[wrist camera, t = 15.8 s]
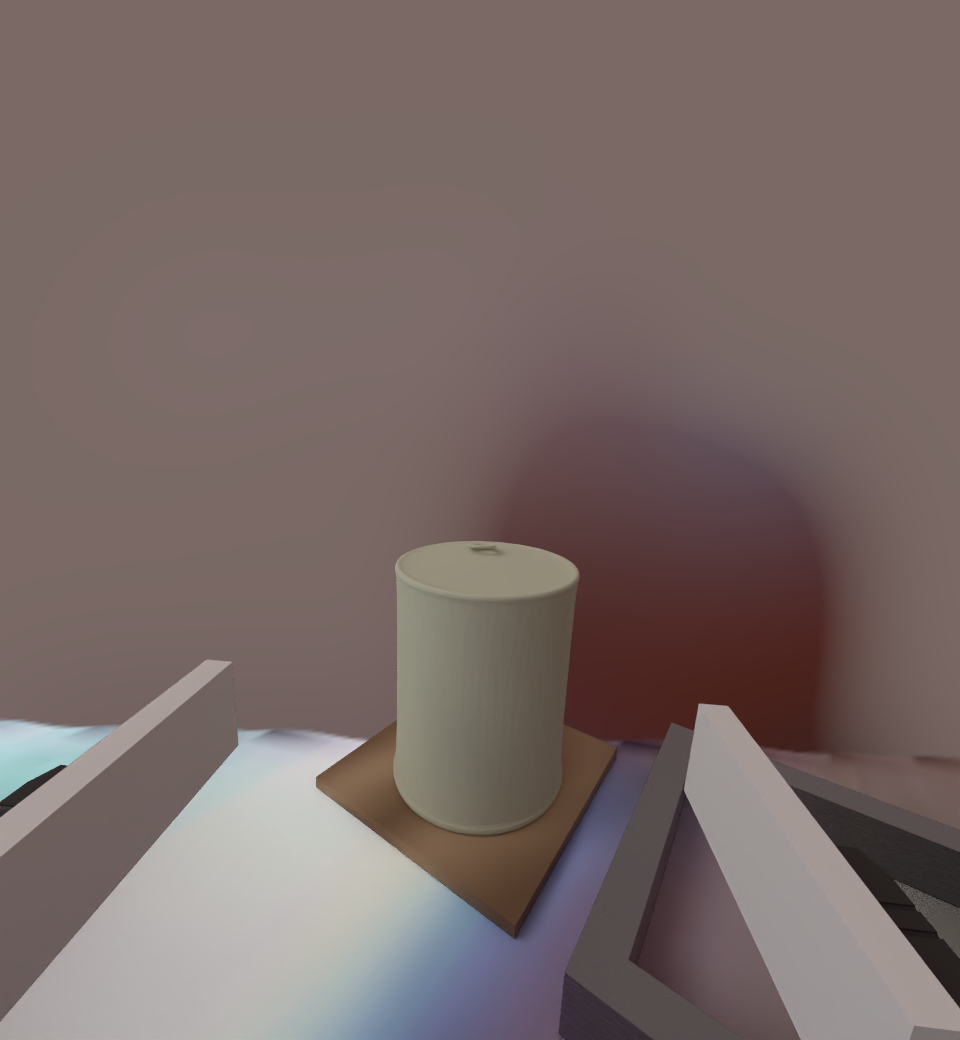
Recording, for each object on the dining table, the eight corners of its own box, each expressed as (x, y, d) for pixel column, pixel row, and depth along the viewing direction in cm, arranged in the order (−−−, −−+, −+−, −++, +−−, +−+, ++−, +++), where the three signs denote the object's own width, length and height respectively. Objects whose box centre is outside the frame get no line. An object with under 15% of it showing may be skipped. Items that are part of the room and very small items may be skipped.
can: (535, 706, 30) (548, 533, 28) (589, 826, 21) (615, 584, 19) (395, 715, 28) (396, 532, 26) (390, 848, 20) (390, 587, 17)
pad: (316, 787, 23) (316, 777, 23) (456, 685, 33) (456, 678, 33) (514, 938, 17) (515, 925, 17) (616, 756, 27) (617, 747, 26)
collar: (558, 1033, 14) (565, 972, 14) (666, 759, 26) (671, 722, 26) (1592, 1907, 6) (1702, 1835, 5) (1054, 923, 18) (1073, 872, 18)
